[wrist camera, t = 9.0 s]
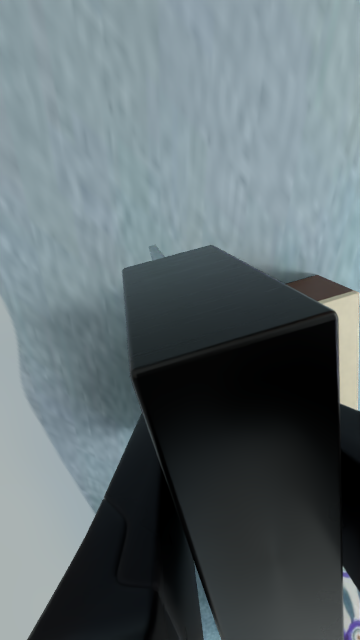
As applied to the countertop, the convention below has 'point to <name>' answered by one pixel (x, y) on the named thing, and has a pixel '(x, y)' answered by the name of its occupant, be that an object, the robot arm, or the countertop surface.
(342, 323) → the cake loaf
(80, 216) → the countertop surface
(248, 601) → the black handle
